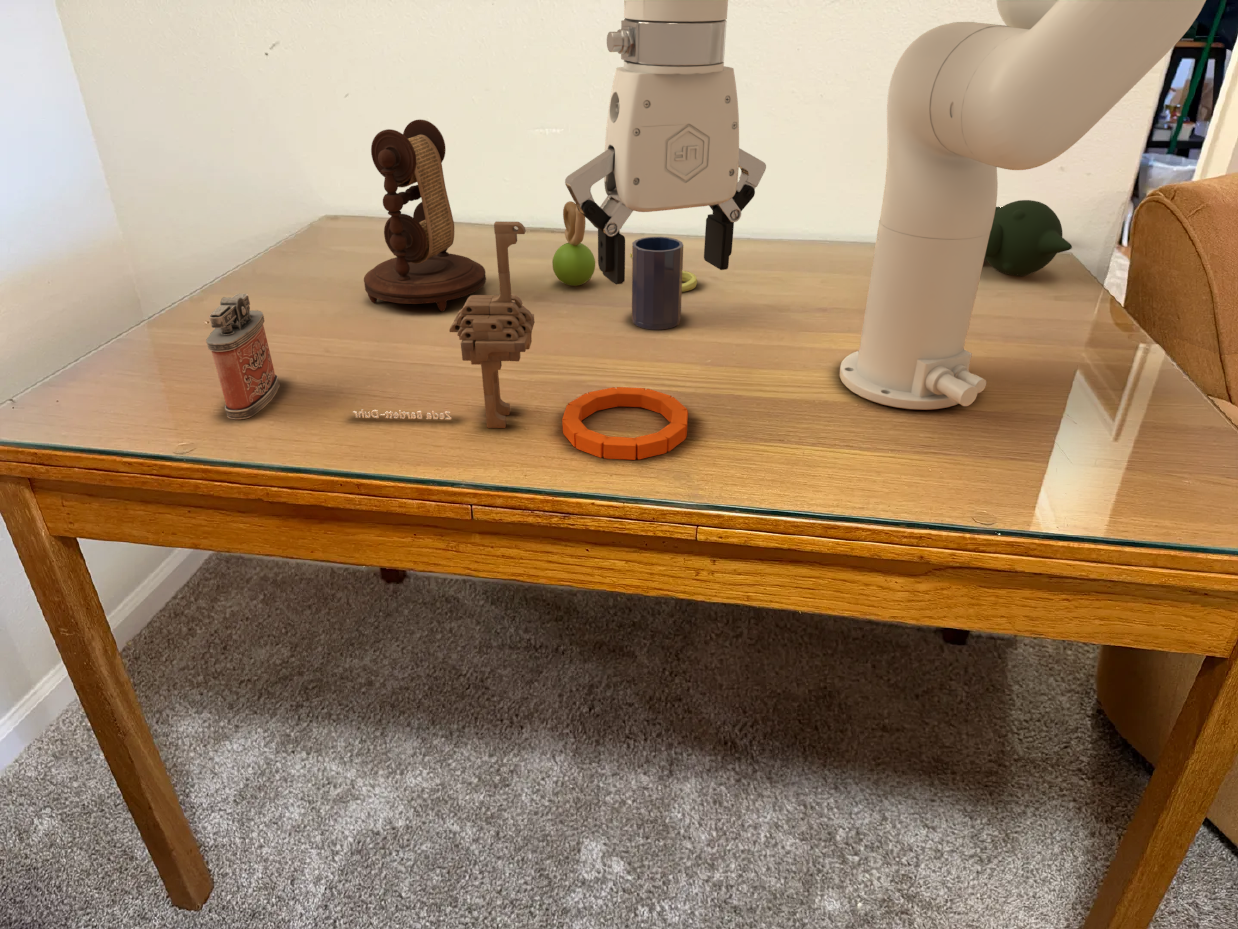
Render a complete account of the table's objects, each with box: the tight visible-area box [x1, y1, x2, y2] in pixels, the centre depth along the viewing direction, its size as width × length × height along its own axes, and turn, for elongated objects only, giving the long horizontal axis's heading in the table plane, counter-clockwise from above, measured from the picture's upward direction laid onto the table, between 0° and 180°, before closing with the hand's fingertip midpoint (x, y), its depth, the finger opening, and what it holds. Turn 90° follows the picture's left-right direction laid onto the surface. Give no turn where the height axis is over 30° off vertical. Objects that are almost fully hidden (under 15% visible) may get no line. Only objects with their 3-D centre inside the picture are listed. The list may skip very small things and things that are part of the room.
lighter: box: [205, 292, 281, 420], centre depth 78 cm, size 8×3×10 cm, turn 178°
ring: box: [561, 386, 689, 461], centre depth 76 cm, size 11×11×1 cm
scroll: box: [363, 119, 487, 312], centre depth 101 cm, size 15×15×20 cm
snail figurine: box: [551, 201, 596, 287], centre depth 105 cm, size 5×6×12 cm
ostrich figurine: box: [352, 221, 535, 429], centre depth 73 cm, size 17×7×18 cm, turn 88°
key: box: [629, 253, 698, 293], centre depth 109 cm, size 7×12×2 cm, turn 36°
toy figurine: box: [984, 199, 1073, 277], centre depth 114 cm, size 9×19×25 cm
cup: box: [631, 236, 684, 331], centre depth 96 cm, size 6×6×9 cm
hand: (665, 272), depth 72 cm, fingers open, 9 cm apart
